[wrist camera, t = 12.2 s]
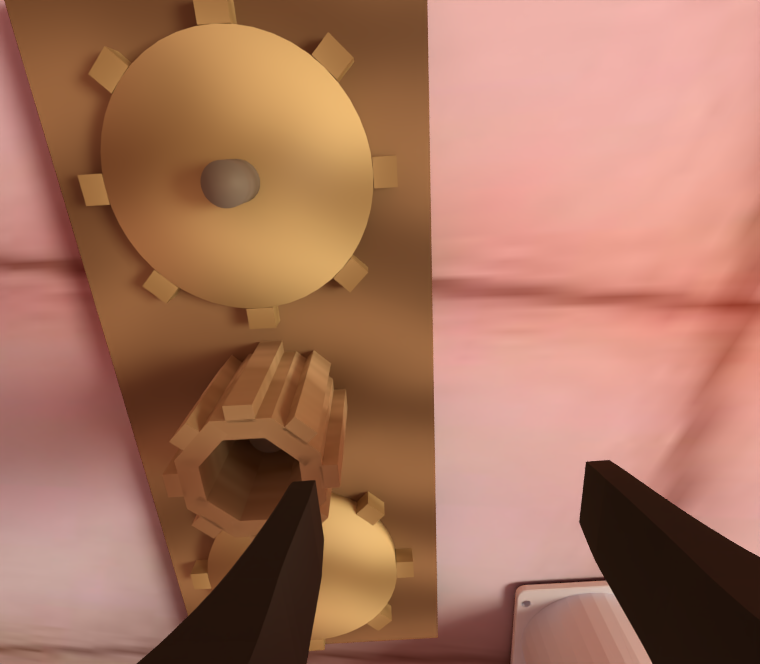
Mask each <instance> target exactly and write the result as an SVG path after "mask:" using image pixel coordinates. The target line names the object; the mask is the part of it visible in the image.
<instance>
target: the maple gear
mask: <svg viewBox="0 0 760 664" xmlns="http://www.w3.org/2000/svg"><path fill="white" fill-rule="evenodd" d="M330 366H331V363H330V362H329V361H327V360H326V359H325V358H323V357H322V356H321V355H319V354H318V353H317V352H316V351H313V352H312V353H311V354H310V355H309V356H308V357H307V358H305V357H303V356H302V355H301V354H299V353H298V352H297V351H291V352H284V349H283V342H282V341H265V342H259V344H258V346H257V348H256V349H255V351H254V353H253V354H249V355H248V356H247V357H246V358H245V360H244V361H243V362H241V361H239V360H238V359H237V358H235V357H234V356H233V355H231V357H230V358H229V359H228V360H227V361H226V363H225V364H224V365H223V366H222V367H221V368H220V370H219V371H218V372H217V374H216V375H215V377H214V378H213V380H212V381H211V382H210V384H209V385H208V387H207V388H206V390H205V391H204V393H203V394H202V395H201V397H200V398H199V400H198V401H197V403H196V404H195V405H194V407H193V408H192V410H191V411H190V413H189V414H188V416H187V417H186V418H185V420H184V421H183V423H182V424H181V426H180V427H179V428H178V430H177V431H176V433H175V434H174V436H173V437H172V439H171V440H170V441H169V442H170V443H172V444H173V445H175V446H176V447H178V448H179V449H178V451H177V452H176V454H175V456H174V457H173V459H172V460H171V462H170V463H169V465H168V466H167V468H166V469H165V471H164V473H163V474H162V476H163V480H164V483H165V487H166V490H167V494H168V497H183V496H184V499H185V503H186V507H187V509H188V510H190V511H192V512H193V513H195V514H197V515H196V517H195V519H194V521H193V523H192V526H194V527H195V528H197V529H199V530H200V531H202V532H204V533H205V534H207V535H209V536H210V537H212V538H215V537H216V536H217V535H218V534H219V533H220V532H221V531H222V530H223V531H225V532H226V533H228V534H230V535H231V536H233V537H235V538H236V537H250V541H251V542H252V541H253V539H254V538H255V537H256V535H257V534H258V532H259V531H260V529H261V528H262V527H263V525H264V524H265V522H266V521H267V519H268V518H269V516H270V515H271V513H272V512H273V510H274V509H275V507H276V506H277V504H278V503H279V501H280V500H281V498H282V496H283V495H284V493H285V491H286V490H287V488H288V486H289V485H290V484H291V483H292V482H294V481H308V480H316V487H317V494H318V501H319V507H320V514H321V521H322V523H323V522H324V521H325V520H326V519H327V518H328V516H329V508H330V499H331V491H332V488H338V487H340V483H341V472H342V462H343V451H344V440H345V430H346V419H347V408H348V407H347V396H346V389H335V390H334V386H333V379H332V378H331V377H330V376H329V372H330ZM256 438H266V439H267V440H269V441H270V442H272V443H273V444H275V445H276V446H278V447H279V448H281V450H279V451H277V452H274V453H265V452H261V451H259V450H257V449H256V448H255V447H254V446H253V445H252V444H251V442H250V440H249V439H256Z"/></svg>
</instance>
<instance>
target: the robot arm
mask: <svg viewBox="0 0 760 664" xmlns="http://www.w3.org/2000/svg"><path fill="white" fill-rule="evenodd" d="M579 523H580V525H581V528H582V530H583V533H584V535H585V538H586V540H587V543H588V545H589V547H590V550H591V552H592V554H593V557H594V559H595V561H596V563H597V565H598V567H599V569H600V570H601V572H602V574H603V576H604V578H605V579H606V580H605V581H588V582H570V583H552V584H535V585H523V586H520V587H518V589H517V590H516V592H515V606H514V620H513V635H512V649H511V663H510V664H760V557H759V556H757V555H755V554H753V553H751V552H749V551H748V550H746V549H744V548H742V547H741V546H739V545H737V544H735V543H734V542H732V541H730V540H729V539H727V538H726V537H724V536H722V535H721V534H719V533H717V532H716V531H714V530H713V529H711V528H709V527H708V526H706V525H704V524H703V523H701V522H700V521H698V520H697V519H695V518H694V517H692V516H690V515H689V514H687V513H686V512H684V511H683V510H681V509H680V508H678V507H677V506H675V505H674V504H672V503H671V502H670V501H668V500H667V499H665V498H664V497H662V496H661V495H659V494H658V493H656V492H655V491H654V490H652V489H651V488H649V487H648V486H646V485H645V484H644V483H642V482H641V481H639V480H638V479H636V478H635V477H634V476H632V475H631V474H629V473H628V472H626V471H625V470H623V469H622V468H621V467H619V466H618V465H616V464H614V463H613V462H611V461H610V460H604V461H590V462H586V467H585V476H584V485H583V494H582V503H581V511H580V520H579ZM323 551H324V534H323V527H322V521H321V514H320V507H319V501H318V494H317V487H316V480H308V481H294V482H292V483H291V484H290V485H289V486H288V488H287V490H286V491H285V493H284V495H283V496H282V498H281V500H280V501H279V503H278V504H277V506H276V507H275V509H274V510H273V512H272V513H271V515H270V516H269V518H268V519H267V521H266V522H265V524H264V525H263V527H262V528H261V529H260V531H259V532H258V534H257V535H256V537H255V538H254V539H253V541H252V542H251V544H250V545H249V546H248V548H247V549H246V550H245V551H244V553H243V554H242V555H241V556H240V558H239V559H238V560H237V562H236V563H235V564H234V565H233V567H232V568H231V569H230V570H229V572H228V573H227V574H226V575H225V576H224V578H223V579H222V580H221V581H220V582H219V584H218V585H217V586H216V587H215V588H214V589H213V590H212V591H211V593H210V594H209V595H208V596H207V597H206V598H205V599H204V600H203V601H202V602H201V603H200V605H199V606H198V607H197V608H196V609H195V610H194V611H193V612H192V613H191V614H190V615H189V616H188V617H187V618H186V619H185V620H184V621H183V622H182V623H181V624H180V625H179V626H178V627H177V628H176V629H175V630H174V631H173V632H172V633H171V634H169V635H168V636H167V637H166V638H165V639H164V640H163V641H162V642H161V643H160V644H159V645H158V646H157V647H155V648H154V649H153V650H152V651H151V652H150V653H148V654H147V655H146V656H145V657H144V658H143V659H142V660H140V661H139V662H138V663H137V664H307V658H308V652H309V647H310V641H311V636H312V630H313V624H314V619H315V613H316V608H317V602H318V596H319V590H320V585H321V579H322V566H323Z"/></svg>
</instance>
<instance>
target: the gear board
mask: <svg viewBox="0 0 760 664" xmlns="http://www.w3.org/2000/svg"><path fill="white" fill-rule="evenodd" d="M4 1H5V4H6V8H7V11H8V14H9V18H10V21H11V24H12V28H13V31H14V34H15V38H16V41H17V44H18V48H19V51H20V54H21V58H22V61H23V64H24V68H25V71H26V75H27V78H28V81H29V85H30V88H31V91H32V95H33V98H34V101H35V105H36V108H37V111H38V115H39V118H40V121H41V125H42V128H43V131H44V135H45V138H46V142H47V145H48V148H49V152H50V155H51V158H52V162H53V165H54V168H55V172H56V175H57V178H58V182H59V185H60V188H61V192H62V195H63V198H64V202H65V205H66V208H67V212H68V215H69V219H70V222H71V225H72V229H73V232H74V235H75V239H76V242H77V245H78V249H79V252H80V255H81V259H82V262H83V265H84V269H85V272H86V275H87V279H88V282H89V285H90V289H91V292H92V296H93V299H94V302H95V306H96V309H97V312H98V316H99V319H100V322H101V326H102V329H103V332H104V336H105V339H106V342H107V346H108V349H109V352H110V356H111V359H112V363H113V366H114V369H115V373H116V376H117V379H118V383H119V386H120V389H121V393H122V396H123V399H124V403H125V406H126V409H127V413H128V416H129V419H130V423H131V426H132V429H133V433H134V436H135V440H136V443H137V446H138V450H139V453H140V456H141V460H142V463H143V466H144V470H145V473H146V476H147V480H148V483H149V486H150V490H151V493H152V496H153V500H154V503H155V506H156V510H157V513H158V517H159V520H160V523H161V527H162V530H163V533H164V537H165V540H166V543H167V547H168V550H169V553H170V557H171V560H172V563H173V567H174V570H175V573H176V577H177V580H178V584H179V587H180V590H181V594H182V597H183V600H184V604H185V607H186V610H187V614H188V616H189V615H190V614H191V613H192V612H193V611H194V610H195V609H196V608H197V607H198V606H199V605H200V603H201V602H202V601H203V600H204V599H205V598H206V597H207V596H208V595H209V594H210V593H211V591H212V590H213V589H214V588H215V587H216V586H217V585H218V584H219V582H220V581H221V580H222V579H223V578H224V576H225V575H226V574H227V573H228V572H229V570H230V569H231V568H232V567H233V565H234V564H235V563H236V562H237V560H238V559H239V558H240V556H241V555H242V554H243V553H244V551H245V550H246V549H247V548H248V546H249V545H250V544H251V541H250V537H236V538H235V537H233V536H231V535H230V534H228V533H226V532H225V531H223V530H222V531H221V532H220V533H219V534H218V535H217V536H216V537H215V538H212V537H210V536H209V535H207V534H205V533H204V532H202V531H200V530H199V529H197V528H195V527H194V526H192V523H193V521H194V519H195V517H196V515H197V514H195V513H193V512H192V511H190V510H188V509H187V507H186V503H185V499H184V496H183V497H168V494H167V490H166V487H165V483H164V480H163V476H162V474H163V473H164V471H165V469H166V468H167V466H168V465H169V463H170V462H171V460H172V459H173V457H174V456H175V454H176V452H177V451H178V449H179V448H178V447H176V446H175V445H173V444H172V443H170V442H169V441H170V440H171V439H172V437H173V436H174V434H175V433H176V431H177V430H178V428H179V427H180V426H181V424H182V423H183V421H184V420H185V418H186V417H187V416H188V414H189V413H190V411H191V410H192V408H193V407H194V405H195V404H196V403H197V401H198V400H199V398H200V397H201V395H202V394H203V393H204V391H205V390H206V388H207V387H208V385H209V384H210V382H211V381H212V380H213V378H214V377H215V375H216V374H217V372H218V371H219V370H220V368H221V367H222V366H223V365H224V364H225V363H226V361H227V360H228V359H229V358H230V357H231V355H233V356H234V357H235V358H237V359H238V360H239V361H241V362H243V361H244V360H245V358H246V357H247V356H248V355H249V354H253V353H254V351H255V349H256V348H257V346H258V344H259V342H265V341H282V342H283V349H284V352H291V351H297V352H298V353H299V354H301V355H302V356H303V357H305V358H307V357H308V356H309V355H310V354H311V353H312V352H313V351H316V352H317V353H318V354H319V355H321V356H322V357H323V358H325V359H326V360H327V361H329V362H330V363H331V366H330V372H329V376H330V377H331V378H332V379H333V386H334V390H335V389H346V396H347V407H348V408H347V419H346V430H345V440H344V451H343V462H342V472H341V483H340V487H338V488H332V491H331V499H330V508H329V516H328V518H327V519H326V520H325V521H324V522H323V523H322V527H323V534H324V551H323V566H322V579H321V585H320V590H319V596H318V602H317V608H316V613H315V619H314V624H313V630H312V636H311V641H310V647H309V651H314V650H325V644H332V643H350V642H368V641H385V640H403V639H421V638H438V623H437V562H436V501H435V440H434V380H433V319H432V258H431V197H430V136H429V75H428V15H427V0H4ZM249 440H250V442H251V444H252V445H253V446H254V447H255V448H256V449H257V450H259V451H261V452H265V453H274V452H277V451H279V450H281V448H279V447H278V446H276V445H275V444H273V443H272V442H270V441H269V440H267V439H266V438H256V439H249Z"/></svg>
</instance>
